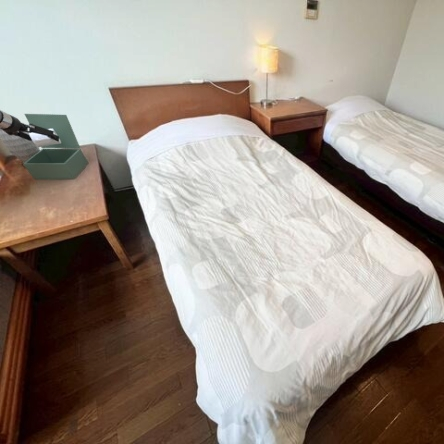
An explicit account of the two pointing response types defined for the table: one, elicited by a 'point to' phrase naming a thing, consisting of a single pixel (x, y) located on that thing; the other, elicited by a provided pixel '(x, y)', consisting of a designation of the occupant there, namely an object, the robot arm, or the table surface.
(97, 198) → the table surface
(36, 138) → the mug
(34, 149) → the vase
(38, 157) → the chest
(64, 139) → the lid
